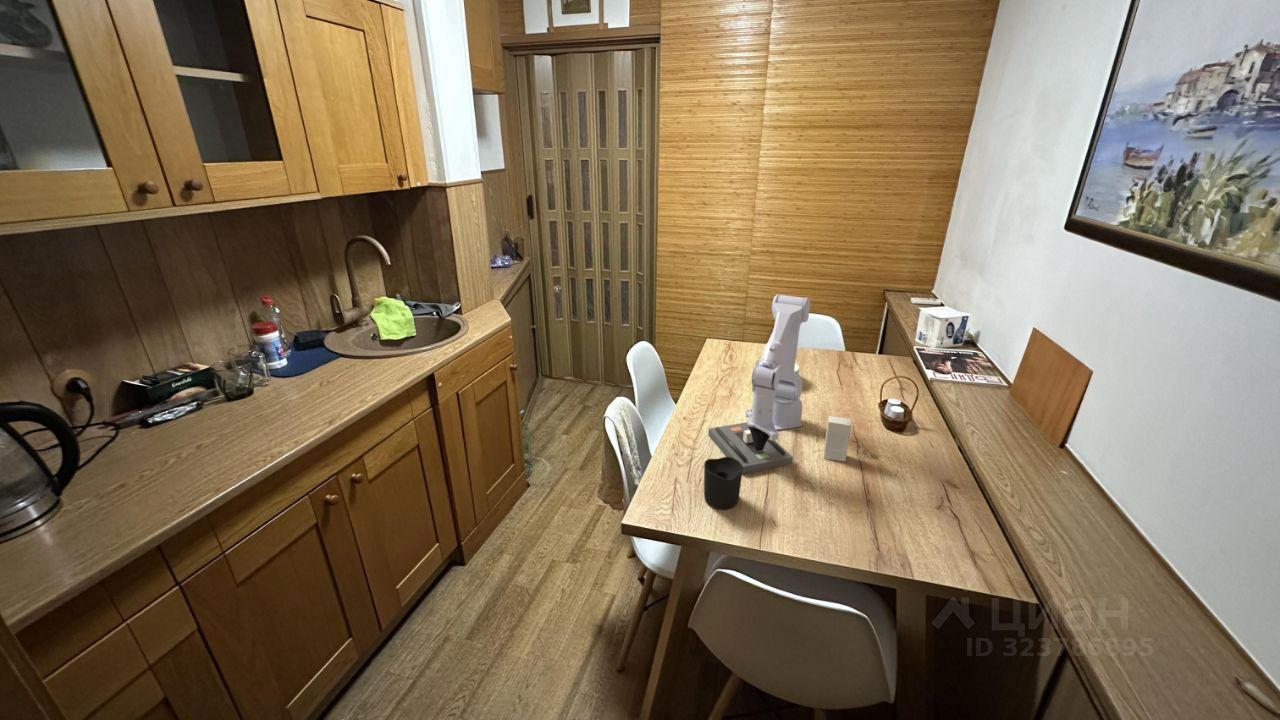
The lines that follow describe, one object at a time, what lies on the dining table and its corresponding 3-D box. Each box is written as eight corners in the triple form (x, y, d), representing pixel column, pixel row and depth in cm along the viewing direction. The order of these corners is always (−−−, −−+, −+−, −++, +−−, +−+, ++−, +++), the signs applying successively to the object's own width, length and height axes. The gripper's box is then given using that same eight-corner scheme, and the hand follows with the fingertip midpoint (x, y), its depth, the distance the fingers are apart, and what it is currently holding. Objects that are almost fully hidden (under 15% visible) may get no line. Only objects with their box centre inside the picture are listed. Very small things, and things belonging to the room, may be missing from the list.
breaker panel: (753, 427, 159) (754, 417, 158) (792, 464, 140) (793, 453, 138) (708, 435, 155) (708, 425, 154) (741, 474, 135) (742, 463, 134)
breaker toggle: (751, 438, 148) (752, 429, 146) (754, 441, 146) (755, 432, 145) (742, 440, 147) (743, 430, 146) (746, 443, 145) (747, 433, 144)
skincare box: (844, 454, 145) (851, 418, 140) (845, 462, 141) (851, 425, 136) (823, 451, 146) (828, 415, 142) (822, 458, 143) (828, 422, 138)
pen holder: (732, 515, 120) (735, 481, 116) (696, 503, 124) (698, 470, 120) (744, 494, 127) (747, 461, 124) (710, 484, 132) (712, 452, 128)
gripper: (737, 398, 141) (734, 439, 146) (763, 421, 128) (759, 465, 134) (759, 394, 143) (755, 435, 148) (787, 417, 130) (782, 461, 135)
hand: (758, 449), depth 141 cm, fingers closed
